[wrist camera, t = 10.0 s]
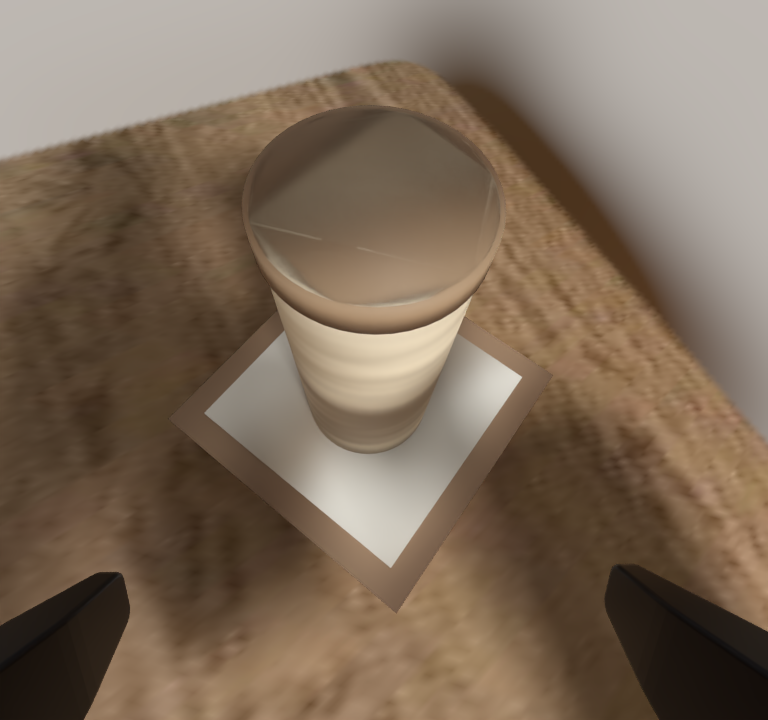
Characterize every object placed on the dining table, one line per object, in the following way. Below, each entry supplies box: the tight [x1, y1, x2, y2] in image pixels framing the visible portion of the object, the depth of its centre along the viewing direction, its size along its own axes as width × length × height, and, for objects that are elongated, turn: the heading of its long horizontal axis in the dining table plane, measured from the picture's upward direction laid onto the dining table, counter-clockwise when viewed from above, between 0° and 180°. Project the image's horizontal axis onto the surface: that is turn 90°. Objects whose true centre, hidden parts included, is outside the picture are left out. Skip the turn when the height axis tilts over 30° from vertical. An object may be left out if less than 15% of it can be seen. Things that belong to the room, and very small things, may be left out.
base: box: [168, 310, 553, 613], centre depth 20 cm, size 11×11×3 cm
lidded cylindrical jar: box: [242, 105, 506, 454], centre depth 14 cm, size 5×5×11 cm
